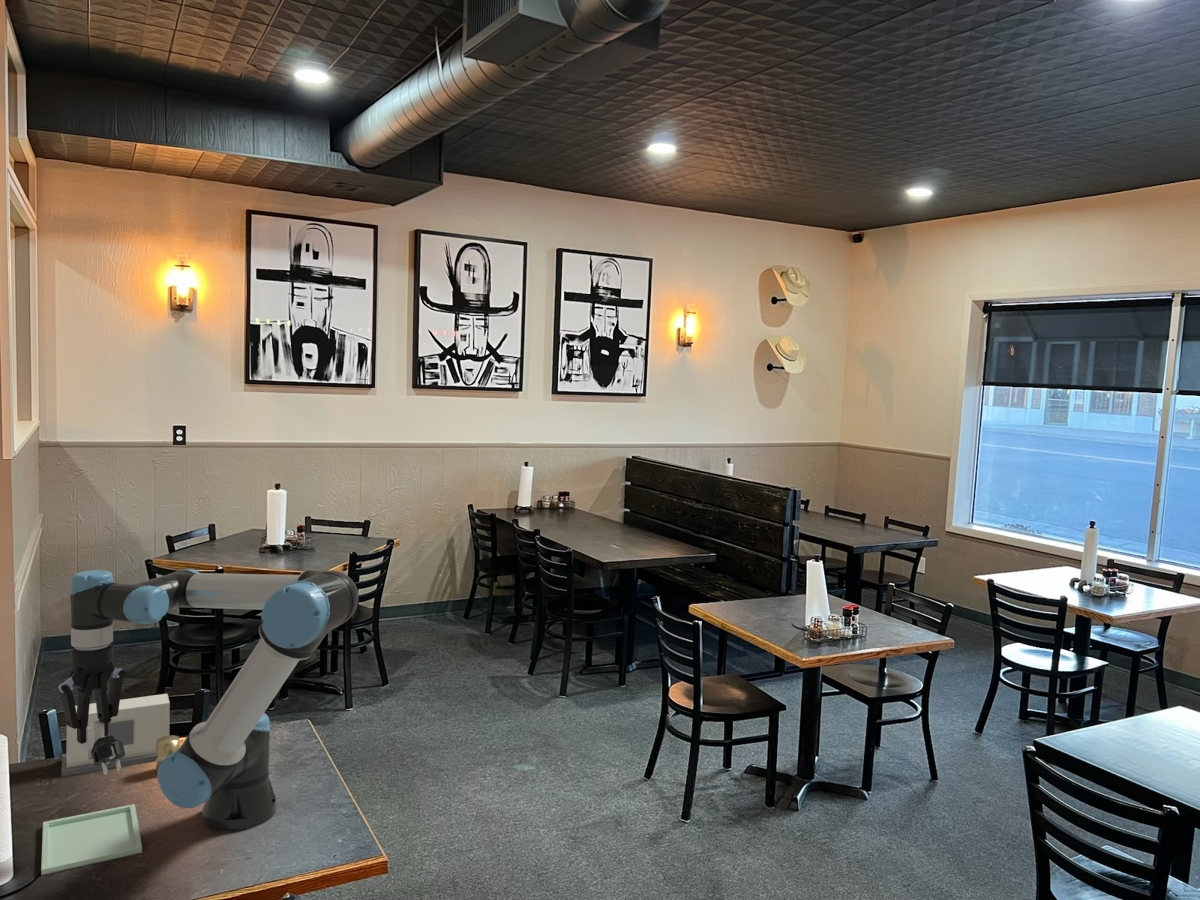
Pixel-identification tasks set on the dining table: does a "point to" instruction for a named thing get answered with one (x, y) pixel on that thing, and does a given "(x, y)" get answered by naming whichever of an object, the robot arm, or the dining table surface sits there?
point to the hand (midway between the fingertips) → (92, 754)
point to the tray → (90, 839)
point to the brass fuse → (165, 748)
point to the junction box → (124, 733)
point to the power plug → (107, 752)
